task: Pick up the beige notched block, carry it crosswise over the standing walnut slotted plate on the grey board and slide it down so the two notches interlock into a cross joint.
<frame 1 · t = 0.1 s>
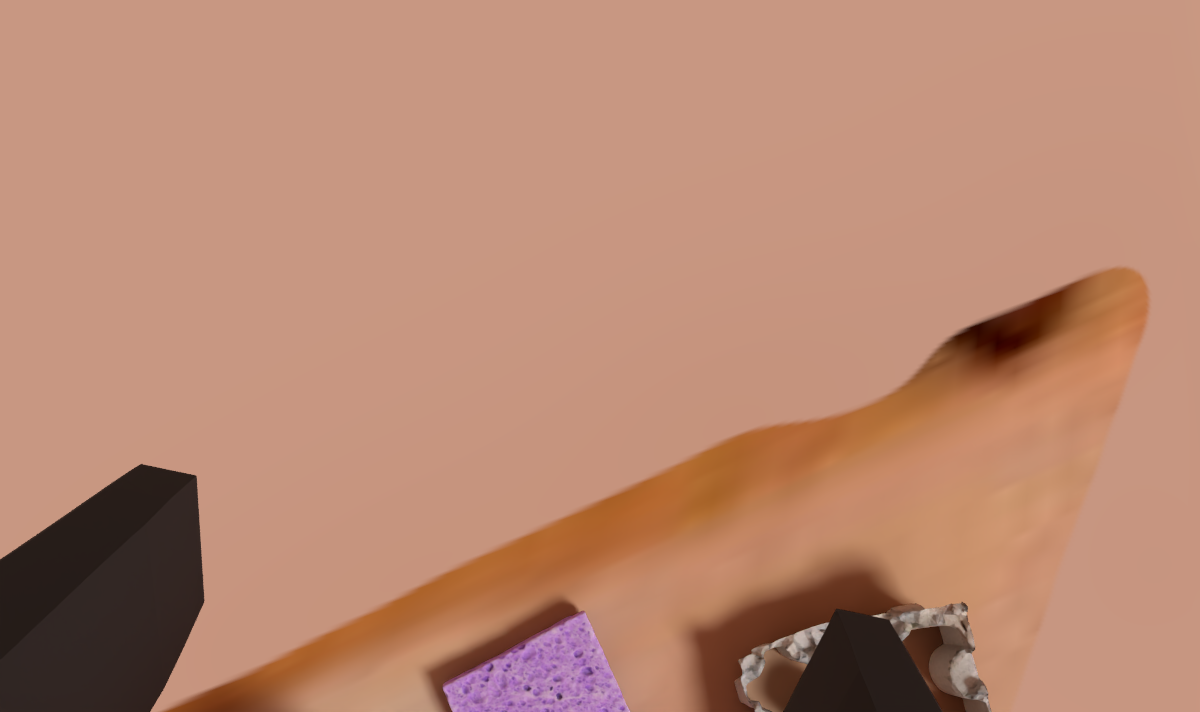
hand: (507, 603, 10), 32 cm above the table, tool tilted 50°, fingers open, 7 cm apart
egg carton: (850, 701, 42), on the table
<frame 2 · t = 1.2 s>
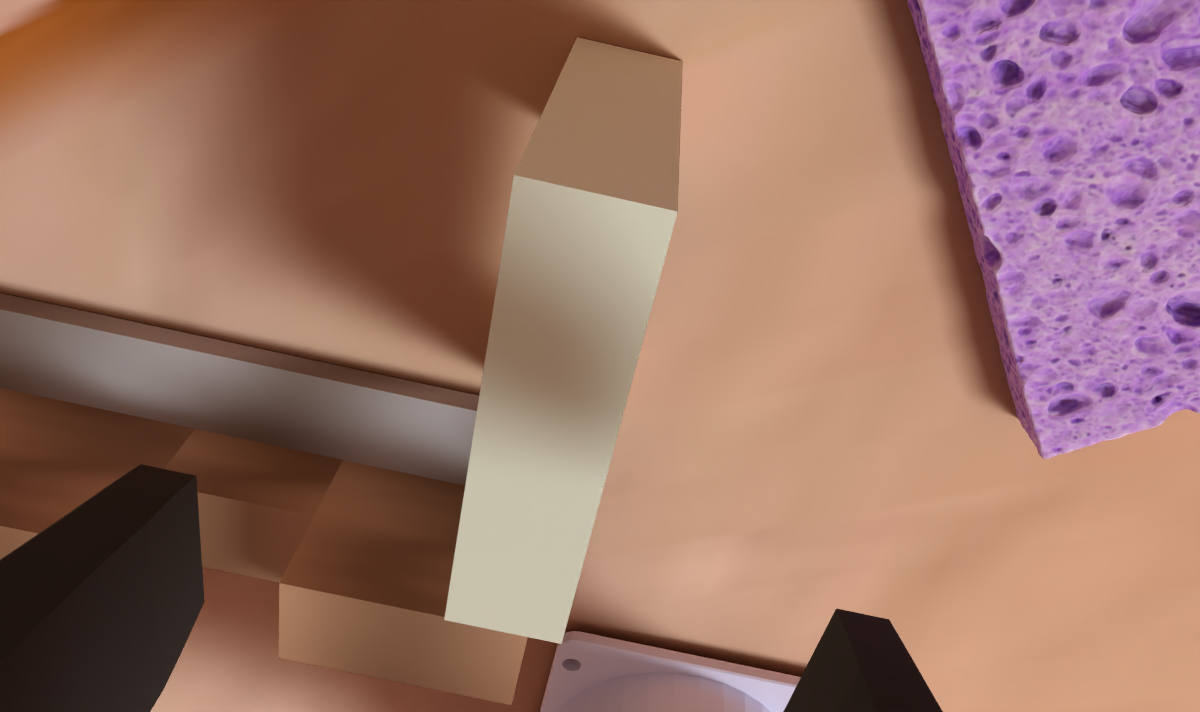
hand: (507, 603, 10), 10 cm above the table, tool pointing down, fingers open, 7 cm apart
slotted base: (278, 466, 23), on the table
sponges: (1131, 97, 17), on the table
beige notched block: (588, 241, 19), on the table
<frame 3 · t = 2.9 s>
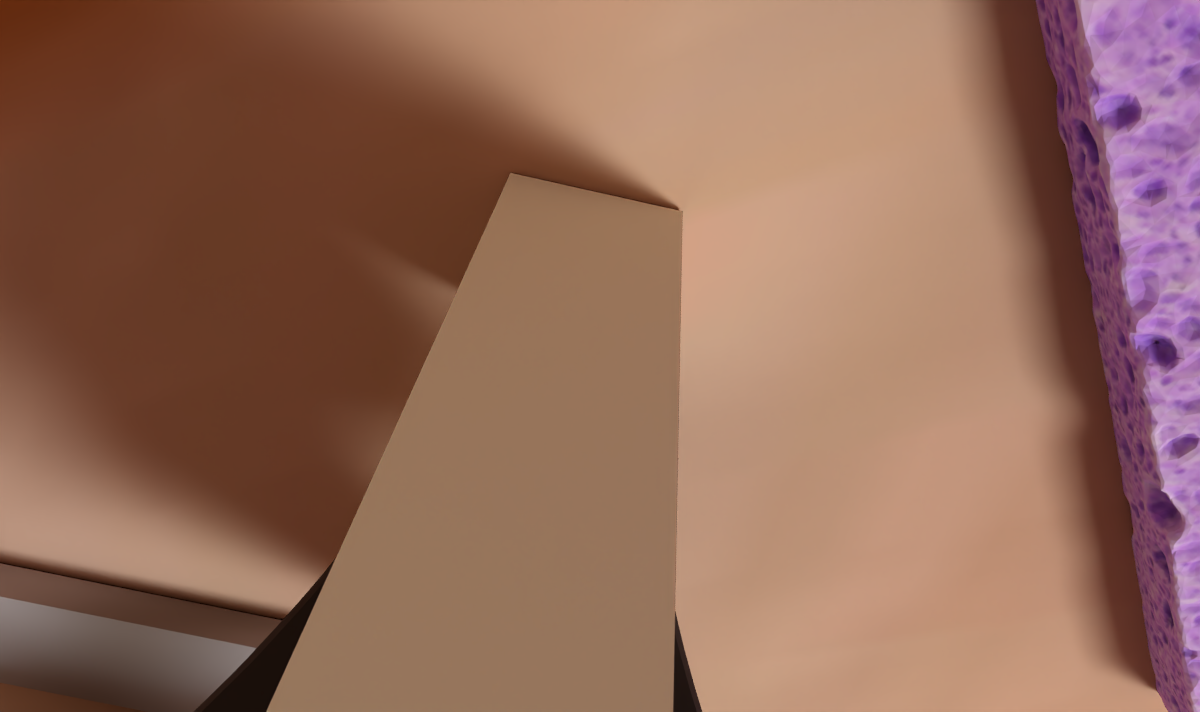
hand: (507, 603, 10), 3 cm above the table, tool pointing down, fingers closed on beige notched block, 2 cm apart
beige notched block: (540, 457, 12), on the table, touching gripper
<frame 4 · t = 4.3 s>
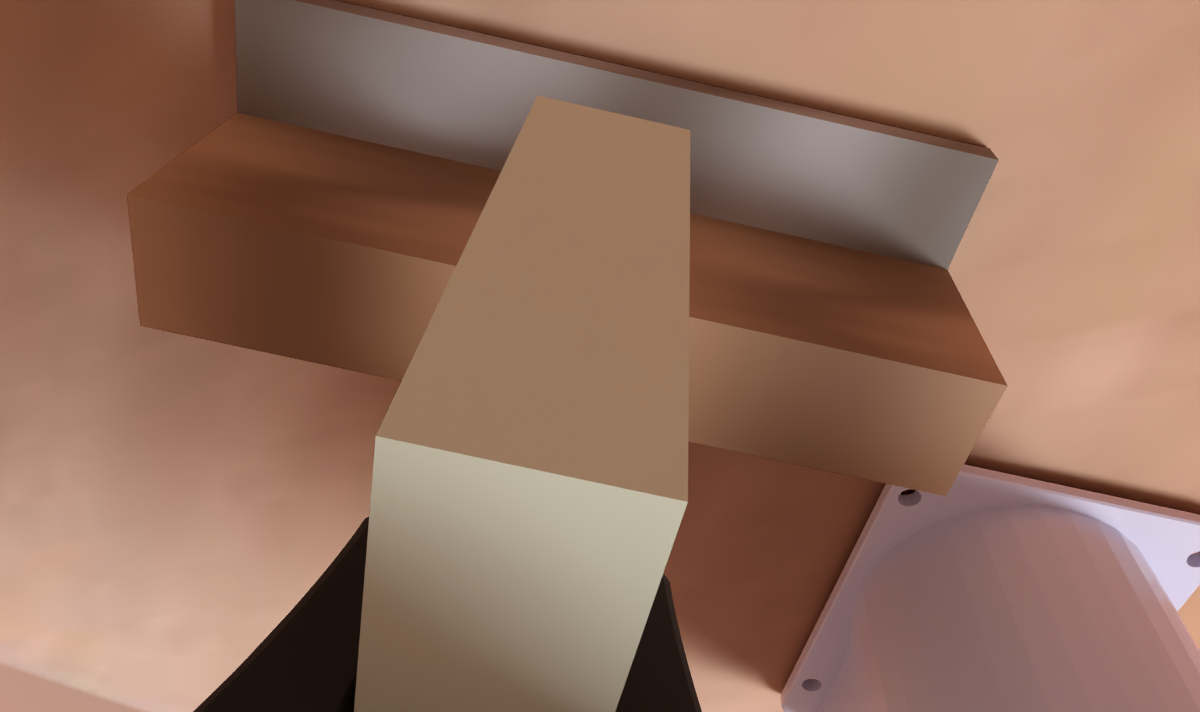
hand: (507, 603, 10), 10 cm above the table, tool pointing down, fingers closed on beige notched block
slotted base: (588, 234, 19), on the table
beige notched block: (560, 365, 14), point 6 cm above the table, touching gripper
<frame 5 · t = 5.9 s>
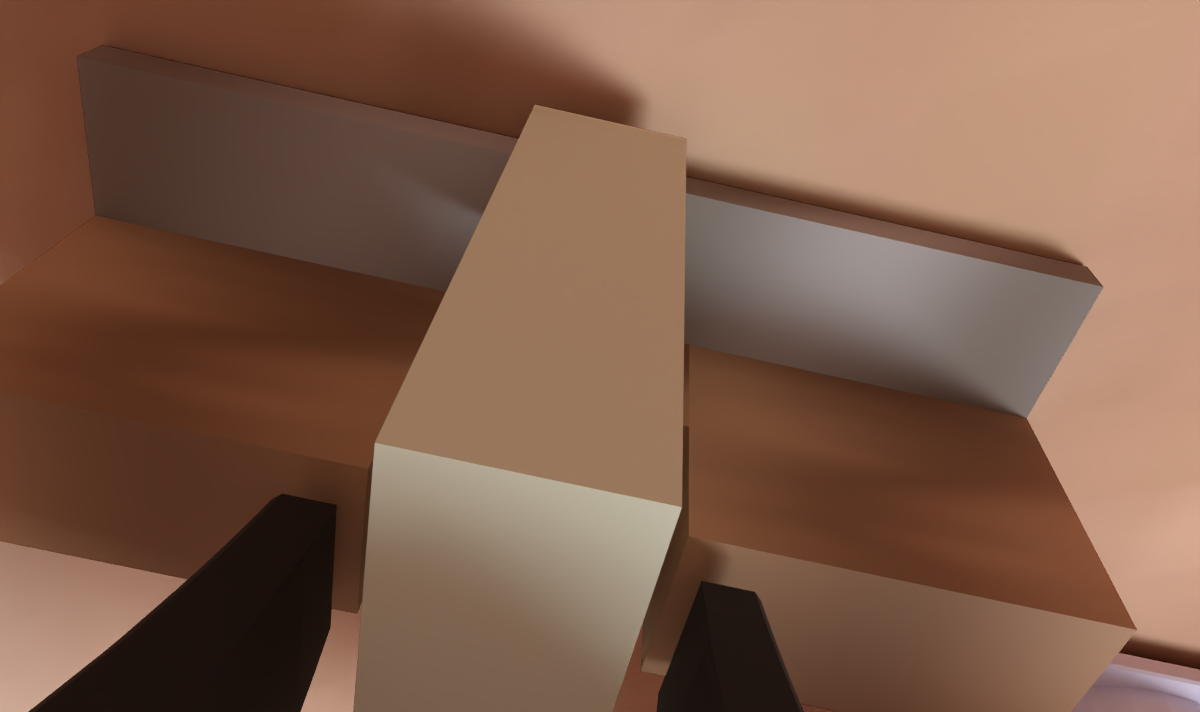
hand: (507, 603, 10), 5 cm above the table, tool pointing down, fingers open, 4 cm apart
slotted base: (561, 362, 14), on the table
beige notched block: (557, 371, 14), point 1 cm above the table, touching slotted base
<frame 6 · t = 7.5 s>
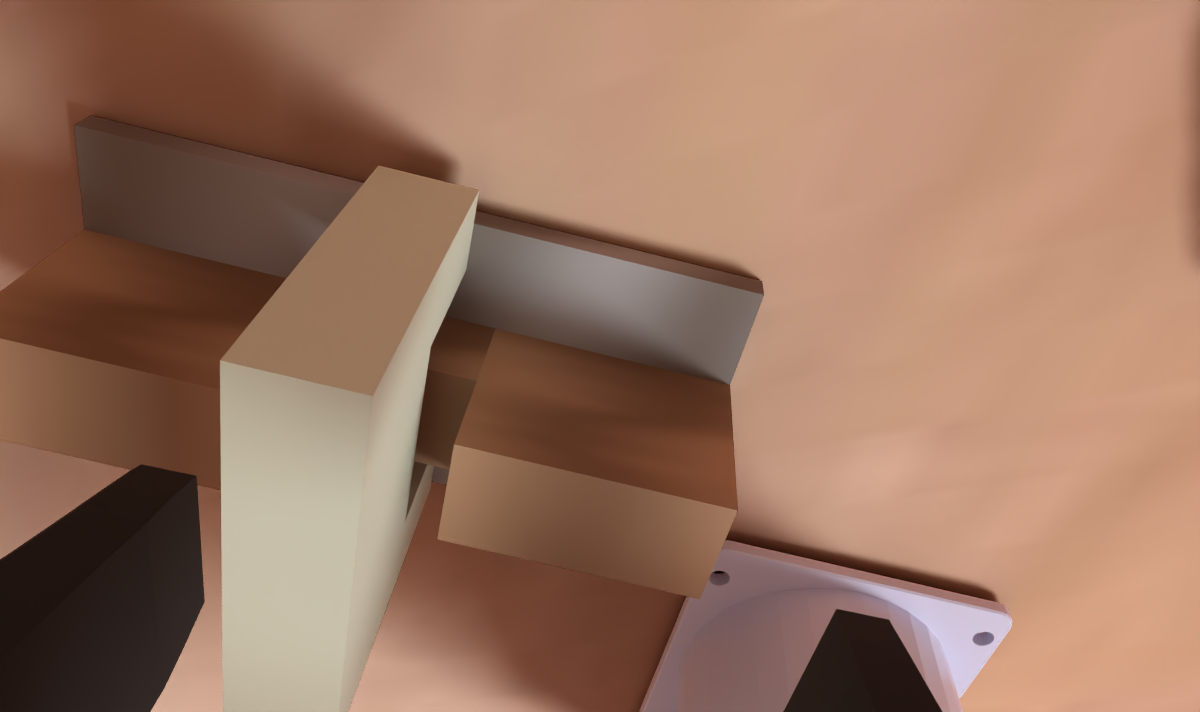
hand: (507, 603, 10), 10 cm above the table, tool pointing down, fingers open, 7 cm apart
slotted base: (414, 340, 20), on the table
beige notched block: (407, 345, 20), point 1 cm above the table, touching slotted base
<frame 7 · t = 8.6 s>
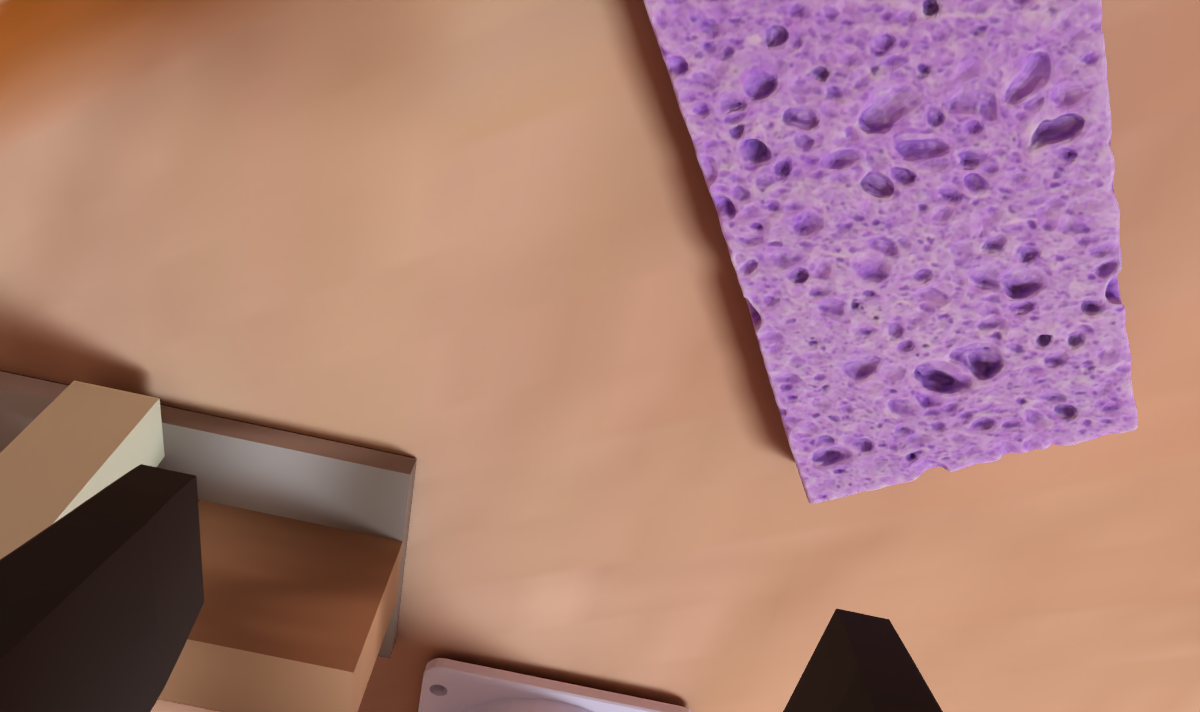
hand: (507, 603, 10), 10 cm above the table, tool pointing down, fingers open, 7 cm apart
slotted base: (144, 503, 24), on the table
sponges: (893, 174, 18), on the table
beige notched block: (131, 512, 23), point 1 cm above the table, touching slotted base
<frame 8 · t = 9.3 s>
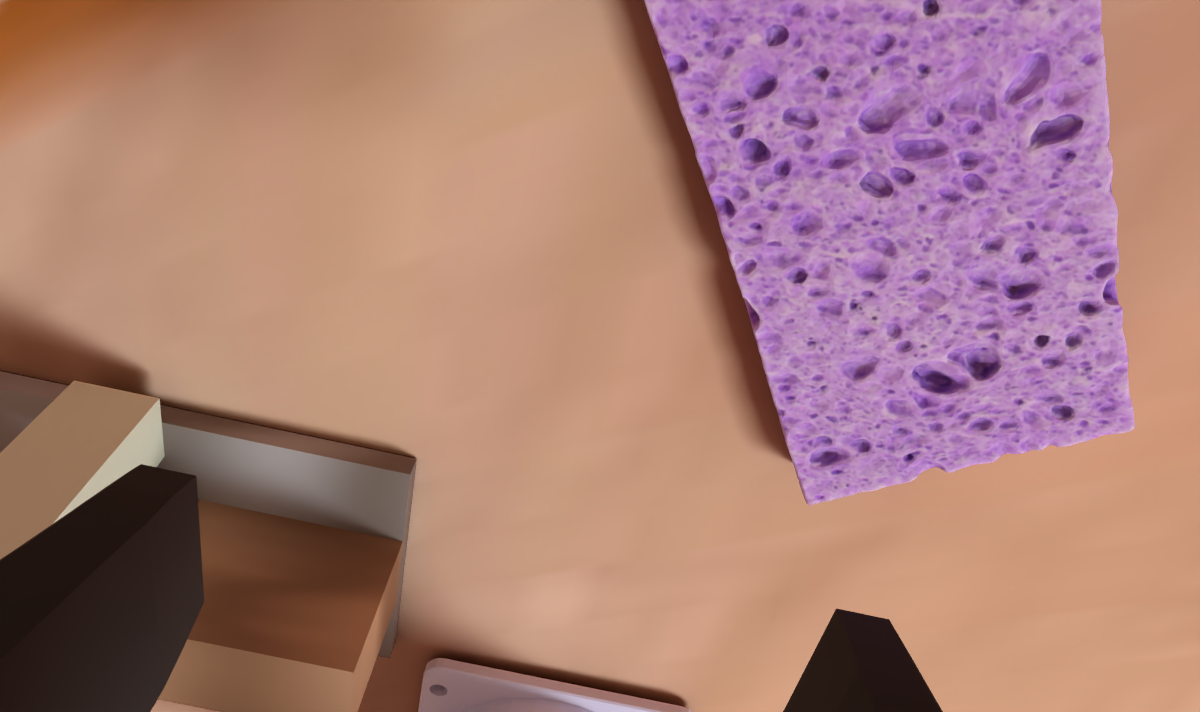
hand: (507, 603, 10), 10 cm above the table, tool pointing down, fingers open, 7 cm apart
slotted base: (144, 503, 24), on the table
sponges: (891, 175, 18), on the table
beige notched block: (131, 512, 23), point 1 cm above the table, touching slotted base
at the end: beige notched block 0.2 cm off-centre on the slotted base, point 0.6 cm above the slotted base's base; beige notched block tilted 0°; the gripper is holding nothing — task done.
